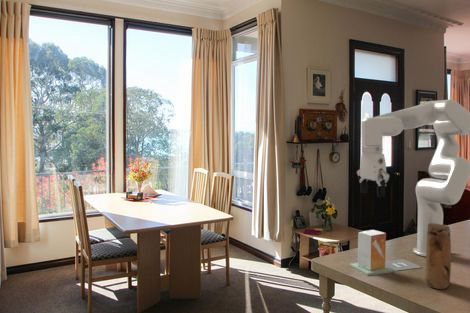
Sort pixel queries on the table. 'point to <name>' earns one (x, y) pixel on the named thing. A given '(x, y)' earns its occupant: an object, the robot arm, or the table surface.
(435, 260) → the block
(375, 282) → the table surface
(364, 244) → the small box
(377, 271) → the sage board
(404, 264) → the slate tile
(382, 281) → the table surface
